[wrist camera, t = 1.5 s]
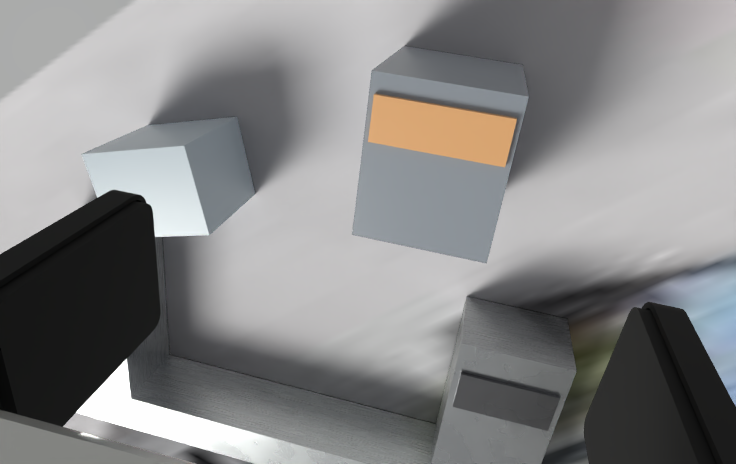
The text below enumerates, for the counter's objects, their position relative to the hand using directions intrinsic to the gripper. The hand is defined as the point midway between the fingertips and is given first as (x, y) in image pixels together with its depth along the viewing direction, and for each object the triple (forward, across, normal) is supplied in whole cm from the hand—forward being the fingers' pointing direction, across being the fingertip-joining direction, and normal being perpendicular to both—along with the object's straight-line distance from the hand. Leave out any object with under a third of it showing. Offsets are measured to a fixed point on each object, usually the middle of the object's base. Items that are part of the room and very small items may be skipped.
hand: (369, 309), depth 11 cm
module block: (+15, 0, 0) cm, 15 cm away
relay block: (+16, +12, +4) cm, 20 cm away
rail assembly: (+15, +6, +14) cm, 21 cm away
